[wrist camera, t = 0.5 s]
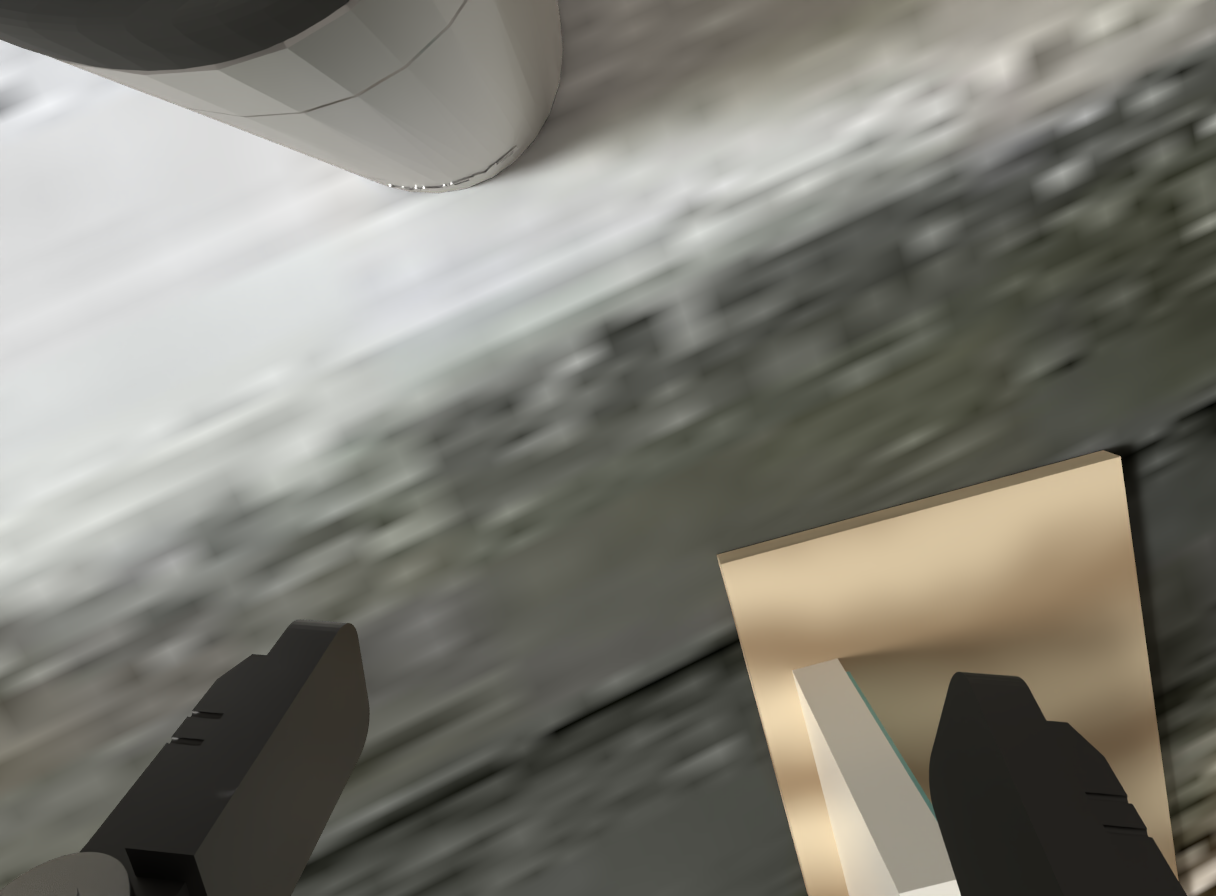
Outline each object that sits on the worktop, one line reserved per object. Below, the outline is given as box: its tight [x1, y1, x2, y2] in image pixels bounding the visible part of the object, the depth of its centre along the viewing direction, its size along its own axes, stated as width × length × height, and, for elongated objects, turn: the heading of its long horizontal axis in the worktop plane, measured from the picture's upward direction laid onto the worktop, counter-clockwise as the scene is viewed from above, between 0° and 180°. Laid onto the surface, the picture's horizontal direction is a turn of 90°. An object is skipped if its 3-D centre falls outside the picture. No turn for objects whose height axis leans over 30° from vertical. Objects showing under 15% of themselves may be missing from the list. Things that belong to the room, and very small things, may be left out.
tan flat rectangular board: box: [717, 450, 1178, 896], centre depth 32 cm, size 22×15×1 cm
